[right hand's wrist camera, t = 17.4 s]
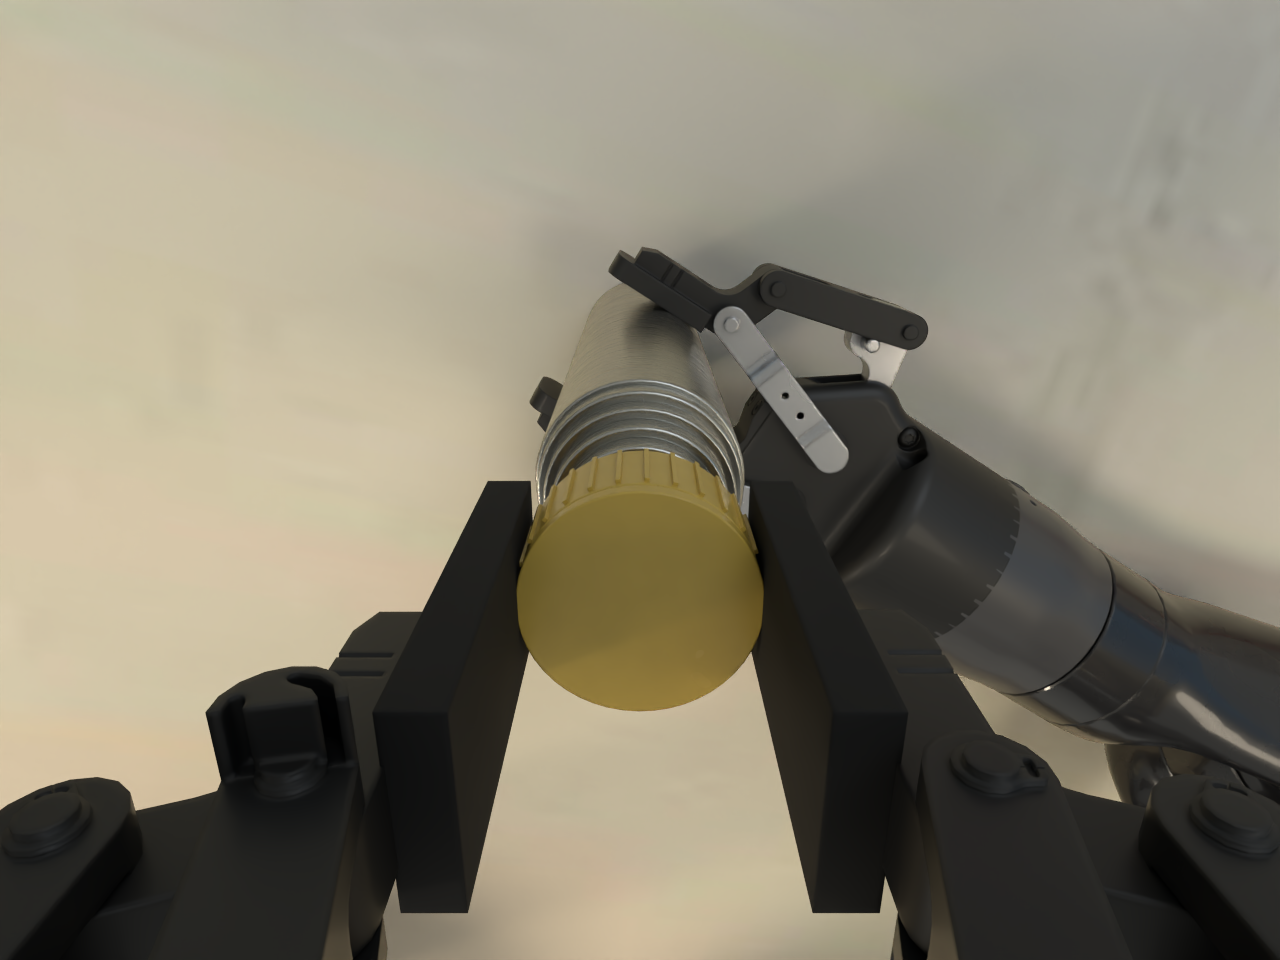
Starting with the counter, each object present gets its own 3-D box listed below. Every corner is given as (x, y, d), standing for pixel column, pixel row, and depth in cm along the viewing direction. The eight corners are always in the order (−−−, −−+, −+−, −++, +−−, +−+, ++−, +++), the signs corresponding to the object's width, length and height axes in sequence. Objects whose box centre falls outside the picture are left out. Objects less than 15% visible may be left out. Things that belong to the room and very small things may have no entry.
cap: (599, 680, 15) (594, 750, 14) (485, 512, 14) (461, 563, 12) (789, 591, 15) (811, 650, 13) (686, 404, 13) (694, 442, 12)
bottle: (708, 298, 34) (823, 498, 13) (676, 401, 35) (730, 733, 14) (601, 266, 33) (534, 420, 12) (573, 373, 35) (472, 671, 14)
